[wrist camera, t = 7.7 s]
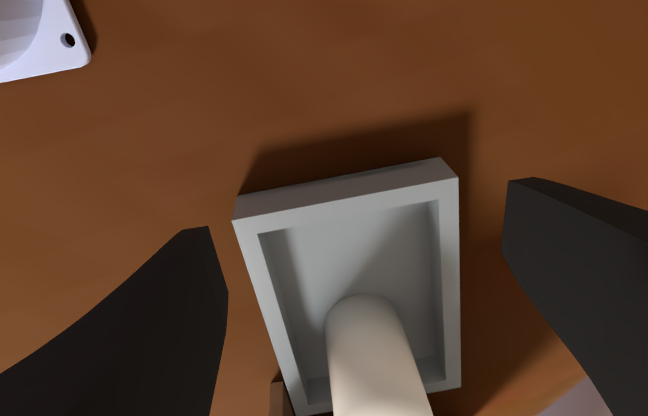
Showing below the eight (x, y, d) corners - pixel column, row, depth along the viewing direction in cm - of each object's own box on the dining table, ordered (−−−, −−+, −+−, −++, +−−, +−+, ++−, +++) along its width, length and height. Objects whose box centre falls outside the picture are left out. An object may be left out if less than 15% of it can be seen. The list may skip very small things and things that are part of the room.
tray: (237, 195, 20) (231, 220, 18) (440, 156, 20) (458, 177, 18) (295, 383, 27) (296, 417, 25) (447, 355, 27) (461, 387, 25)
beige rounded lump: (312, 340, 24) (320, 450, 19) (343, 285, 22) (362, 387, 17) (377, 357, 25) (404, 465, 20) (412, 305, 24) (453, 408, 18)
